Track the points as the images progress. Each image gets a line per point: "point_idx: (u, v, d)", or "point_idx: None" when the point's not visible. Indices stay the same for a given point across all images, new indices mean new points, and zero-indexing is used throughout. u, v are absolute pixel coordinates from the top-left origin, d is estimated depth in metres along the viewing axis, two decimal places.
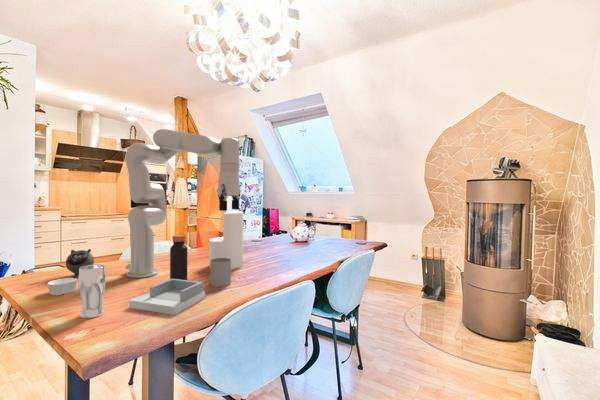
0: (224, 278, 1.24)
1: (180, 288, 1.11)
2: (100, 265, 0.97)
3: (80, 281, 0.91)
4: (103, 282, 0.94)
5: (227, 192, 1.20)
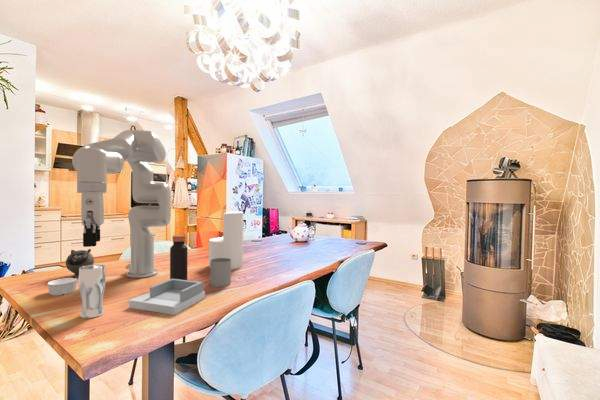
0: (224, 278, 1.24)
1: (180, 288, 1.11)
2: (100, 265, 0.97)
3: (80, 281, 0.91)
4: (103, 282, 0.94)
5: None
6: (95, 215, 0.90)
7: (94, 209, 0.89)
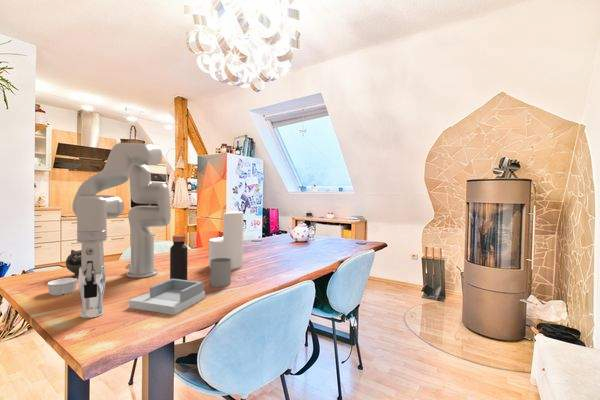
0: (224, 278, 1.24)
1: (180, 288, 1.11)
2: None
3: (80, 281, 0.91)
4: (103, 282, 0.94)
5: None
6: (95, 265, 0.90)
7: (94, 259, 0.90)
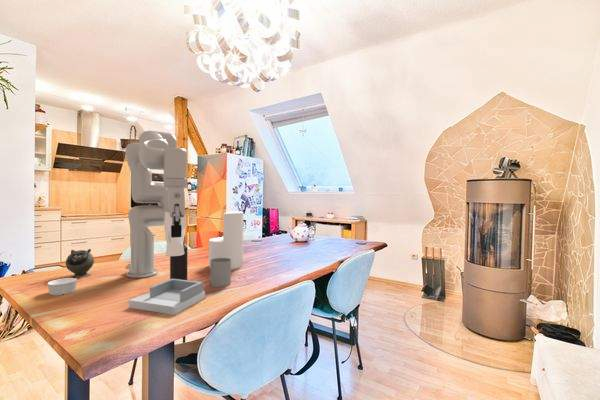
0: (224, 278, 1.24)
1: (180, 288, 1.11)
2: None
3: (167, 222, 1.01)
4: (185, 225, 1.05)
5: None
6: (181, 208, 1.01)
7: (180, 202, 1.00)
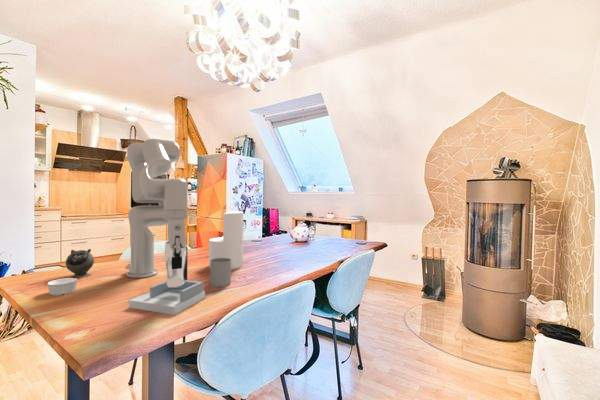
0: (224, 278, 1.24)
1: (180, 288, 1.11)
2: None
3: (167, 254, 1.02)
4: (185, 256, 1.05)
5: None
6: (181, 239, 1.01)
7: (181, 234, 1.01)
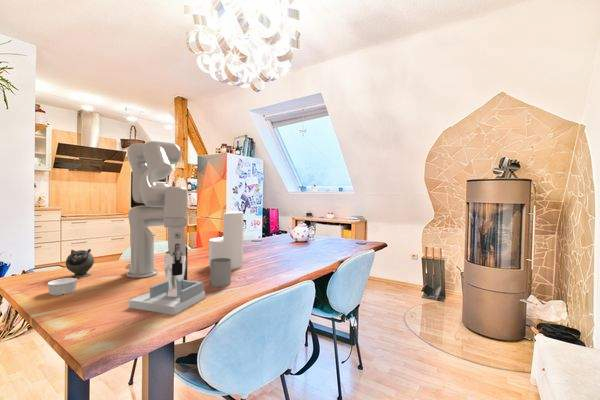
0: (224, 278, 1.24)
1: None
2: None
3: (167, 264, 1.02)
4: (185, 265, 1.05)
5: None
6: (181, 247, 1.01)
7: (181, 242, 1.01)
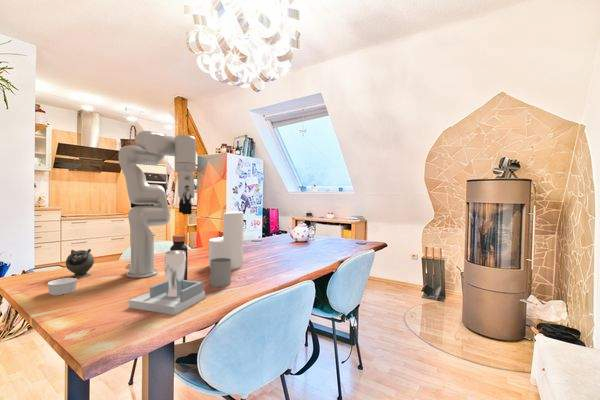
0: (224, 278, 1.24)
1: None
2: (180, 251, 1.08)
3: (167, 264, 1.02)
4: (185, 266, 1.05)
5: None
6: (190, 189, 1.11)
7: (190, 184, 1.11)
